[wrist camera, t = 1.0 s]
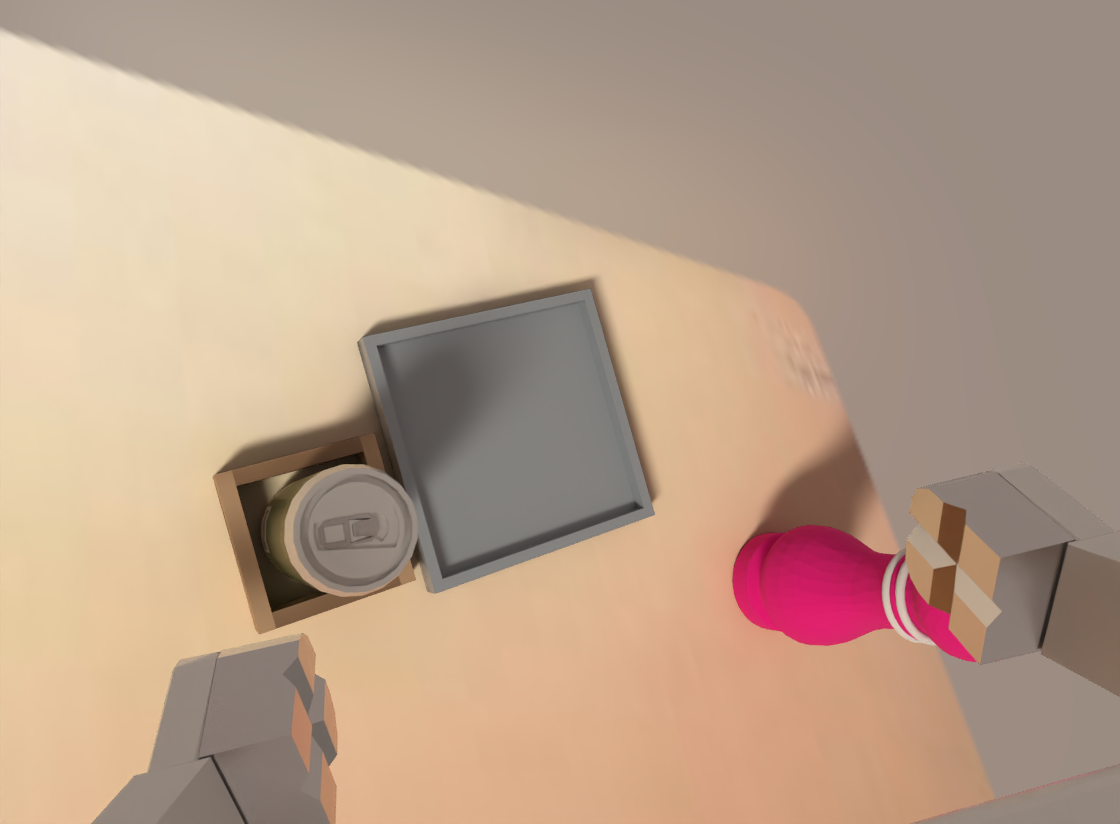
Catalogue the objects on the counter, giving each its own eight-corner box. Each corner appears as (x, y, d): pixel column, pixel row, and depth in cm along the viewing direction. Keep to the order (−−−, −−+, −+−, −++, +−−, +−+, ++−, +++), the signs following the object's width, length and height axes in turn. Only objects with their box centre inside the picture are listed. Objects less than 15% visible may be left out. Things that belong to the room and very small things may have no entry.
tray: (357, 342, 47) (362, 336, 45) (579, 294, 53) (590, 288, 51) (427, 591, 47) (435, 593, 45) (642, 515, 53) (654, 514, 51)
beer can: (267, 591, 43) (297, 612, 32) (251, 486, 44) (277, 473, 33) (371, 570, 45) (433, 583, 35) (357, 470, 46) (413, 452, 35)
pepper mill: (741, 509, 56) (1014, 500, 38) (824, 546, 58) (1117, 555, 40) (712, 616, 54) (983, 662, 36) (799, 651, 56) (1095, 709, 38)
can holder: (212, 476, 43) (214, 474, 41) (366, 436, 46) (374, 432, 44) (255, 629, 43) (259, 634, 41) (406, 577, 46) (415, 579, 44)
